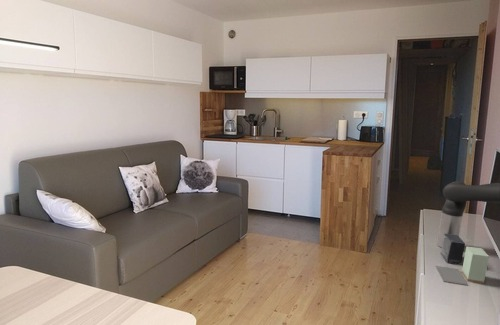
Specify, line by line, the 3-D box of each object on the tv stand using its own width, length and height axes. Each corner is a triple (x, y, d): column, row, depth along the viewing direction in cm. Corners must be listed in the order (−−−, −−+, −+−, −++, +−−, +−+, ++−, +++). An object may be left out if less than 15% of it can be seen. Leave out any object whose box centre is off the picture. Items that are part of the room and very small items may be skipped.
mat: (435, 266, 168) (435, 265, 168) (457, 269, 167) (457, 269, 166) (443, 281, 155) (443, 280, 155) (467, 285, 153) (468, 284, 153)
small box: (462, 265, 171) (466, 243, 169) (446, 263, 173) (450, 241, 170) (454, 255, 182) (458, 234, 179) (440, 253, 183) (443, 232, 181)
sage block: (461, 272, 164) (466, 246, 162) (476, 274, 163) (482, 248, 161) (467, 281, 157) (472, 254, 154) (483, 283, 156) (489, 256, 153)
